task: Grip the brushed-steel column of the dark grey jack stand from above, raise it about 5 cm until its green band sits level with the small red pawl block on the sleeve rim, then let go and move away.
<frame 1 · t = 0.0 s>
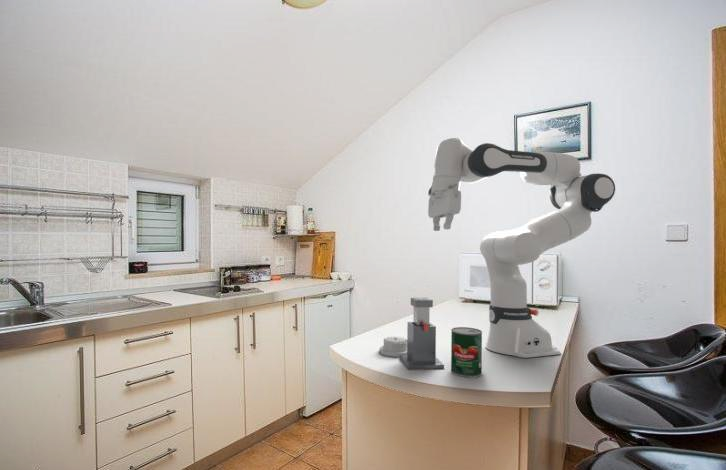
hand: (441, 230, 113), 39 cm above the table, tool pointing down, fingers open, 8 cm apart
jack stand: (421, 363, 100), on the table
mechanical component: (395, 353, 110), on the table
canned tomato: (466, 372, 93), on the table
column: (421, 328, 100), point 10 cm above the table, slide at 0.0 cm
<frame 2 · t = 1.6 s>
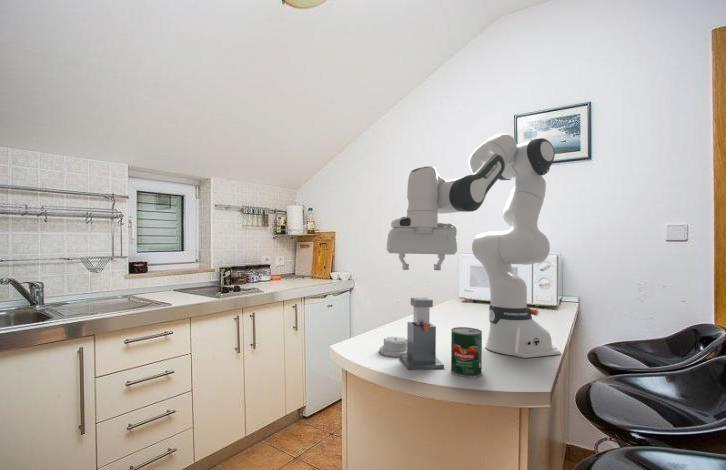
hand: (421, 270, 101), 26 cm above the table, tool pointing down, fingers open, 8 cm apart
nothing on the table moved.
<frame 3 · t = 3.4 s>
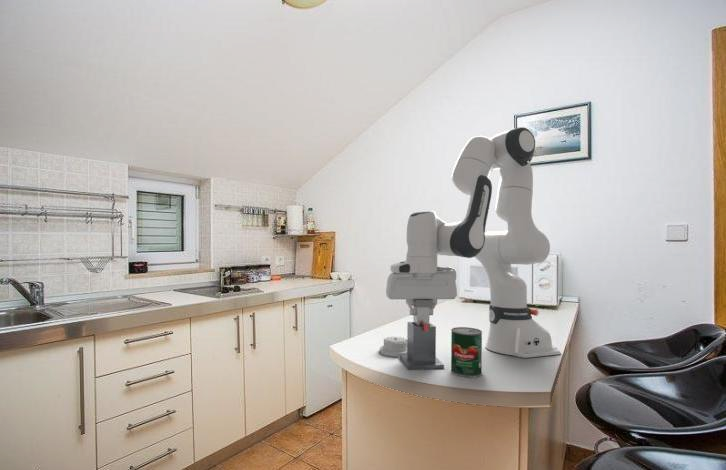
hand: (421, 315, 100), 14 cm above the table, tool pointing down, fingers closed on column, 4 cm apart
column: (421, 328, 100), point 10 cm above the table, slide at 0.0 cm, touching gripper
everything else where it was.
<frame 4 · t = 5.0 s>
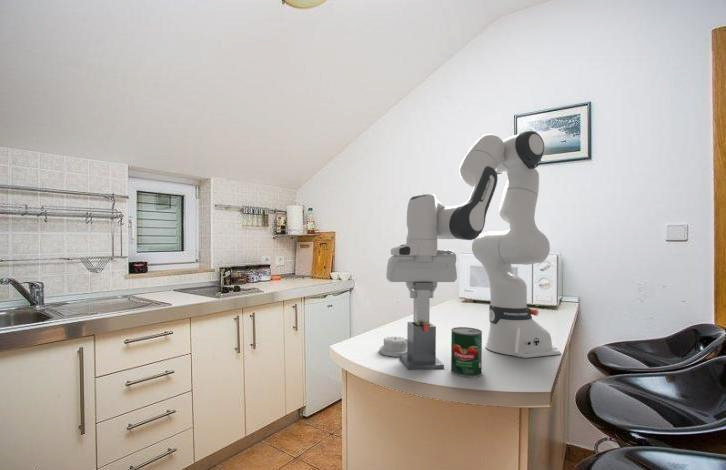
hand: (421, 297, 100), 18 cm above the table, tool pointing down, fingers closed on column, 4 cm apart
column: (421, 311, 100), point 15 cm above the table, slide at 4.8 cm, touching gripper
everything else where it was.
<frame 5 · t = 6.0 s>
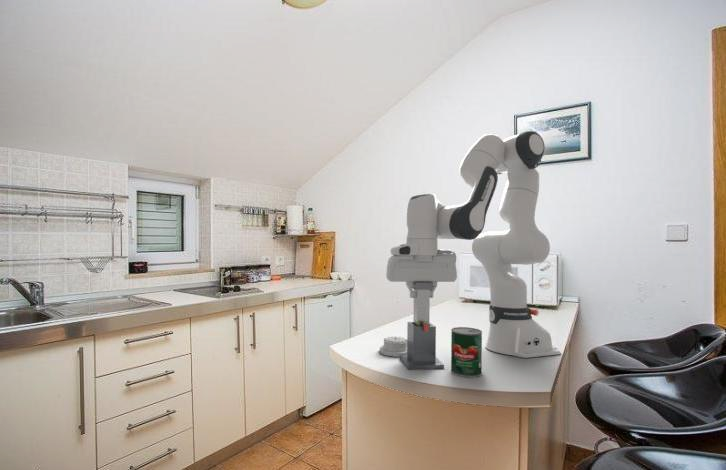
hand: (421, 297, 100), 19 cm above the table, tool pointing down, fingers closed on column, 4 cm apart
column: (421, 311, 100), point 15 cm above the table, slide at 4.9 cm, touching gripper
everything else where it was.
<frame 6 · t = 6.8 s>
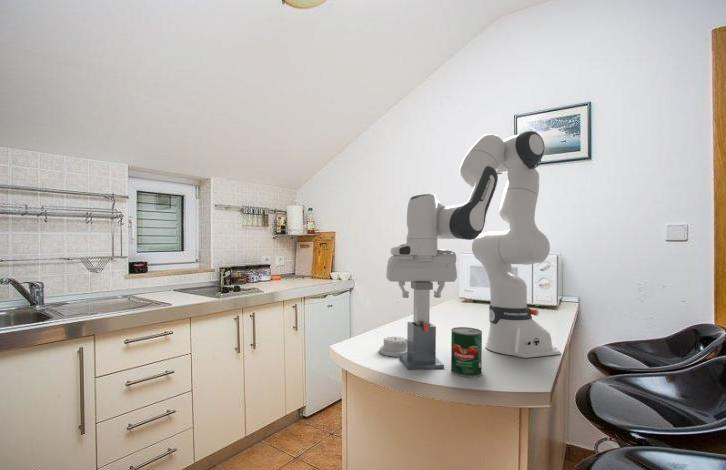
hand: (421, 297, 100), 19 cm above the table, tool pointing down, fingers open, 8 cm apart
column: (421, 311, 100), point 15 cm above the table, slide at 4.9 cm
everything else where it was.
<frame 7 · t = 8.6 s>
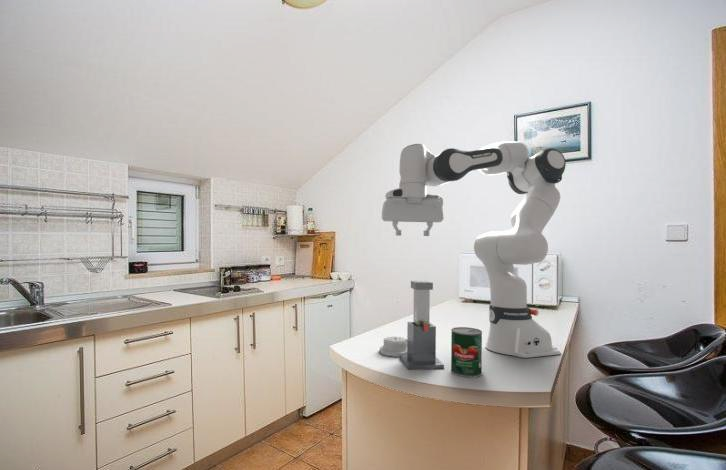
hand: (412, 235, 114), 37 cm above the table, tool pointing down, fingers open, 8 cm apart
nothing on the table moved.
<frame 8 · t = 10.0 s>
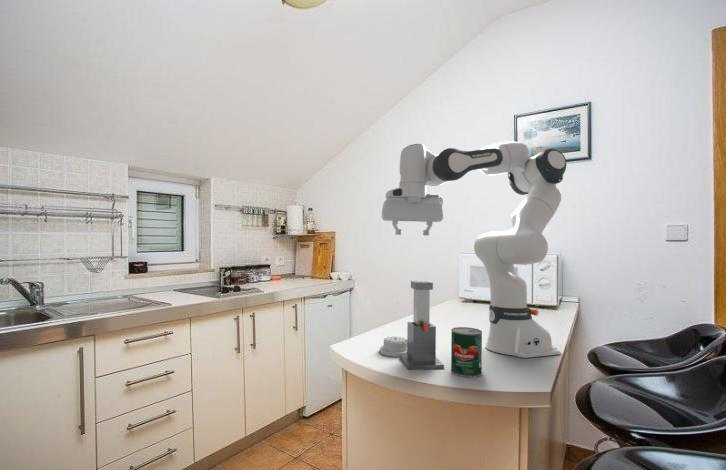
hand: (412, 235, 115), 37 cm above the table, tool pointing down, fingers open, 8 cm apart
nothing on the table moved.
at the end: column slide at 4.9 cm; the gripper is holding nothing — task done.
